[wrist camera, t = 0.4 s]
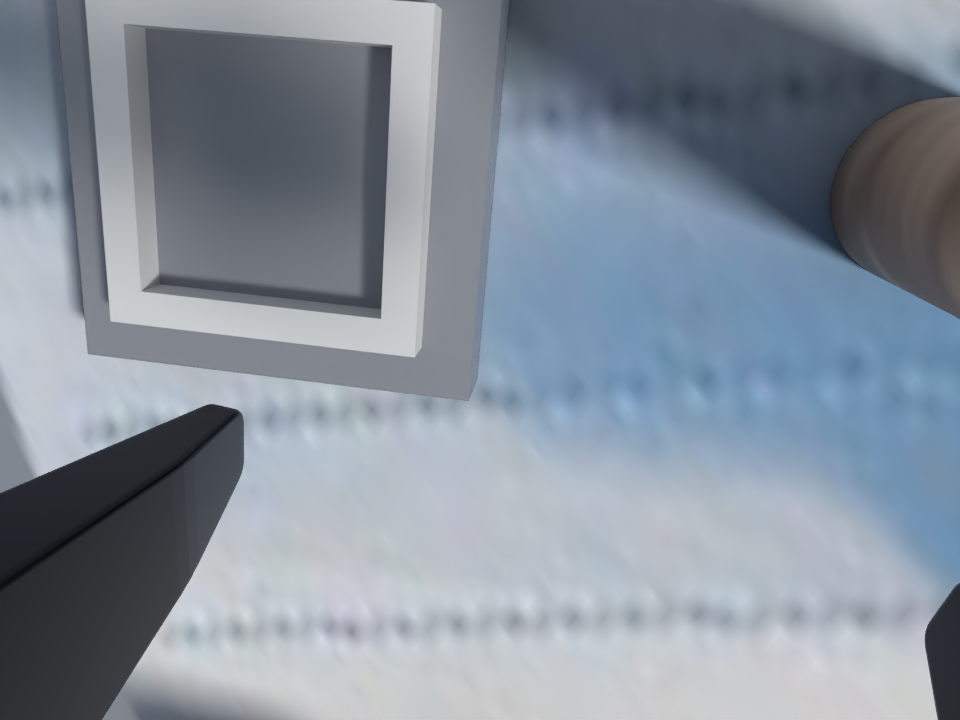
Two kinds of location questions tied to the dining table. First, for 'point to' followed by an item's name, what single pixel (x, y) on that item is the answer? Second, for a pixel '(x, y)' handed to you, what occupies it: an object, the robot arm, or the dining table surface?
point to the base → (286, 184)
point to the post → (905, 200)
